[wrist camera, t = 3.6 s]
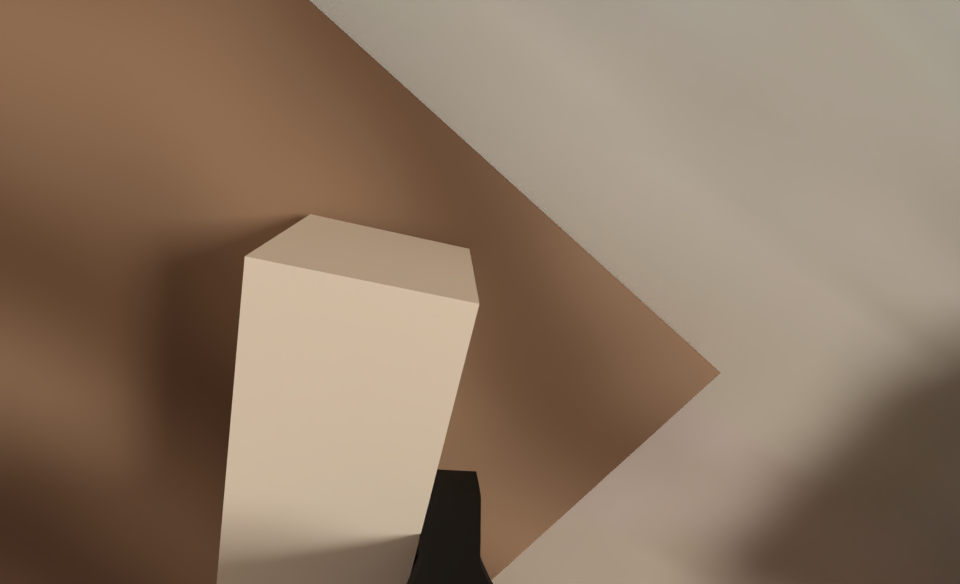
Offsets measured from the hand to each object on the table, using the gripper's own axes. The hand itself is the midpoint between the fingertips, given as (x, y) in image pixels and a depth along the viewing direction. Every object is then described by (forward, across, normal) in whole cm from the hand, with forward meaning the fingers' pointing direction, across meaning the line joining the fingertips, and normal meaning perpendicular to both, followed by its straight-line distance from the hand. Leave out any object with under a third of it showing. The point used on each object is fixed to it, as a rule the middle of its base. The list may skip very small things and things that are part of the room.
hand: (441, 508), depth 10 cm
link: (+1, +2, 0) cm, 2 cm away
